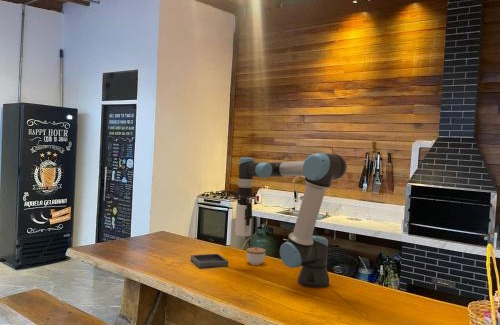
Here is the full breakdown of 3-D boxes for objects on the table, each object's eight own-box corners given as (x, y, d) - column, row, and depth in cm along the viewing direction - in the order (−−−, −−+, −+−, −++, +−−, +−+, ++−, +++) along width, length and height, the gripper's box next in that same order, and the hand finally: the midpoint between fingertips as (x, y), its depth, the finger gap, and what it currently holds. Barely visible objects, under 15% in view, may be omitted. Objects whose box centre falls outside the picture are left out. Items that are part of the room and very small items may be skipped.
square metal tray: (228, 266, 228) (228, 261, 228) (199, 268, 222) (199, 263, 222) (217, 258, 243) (218, 253, 243) (190, 260, 236) (190, 255, 236)
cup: (250, 236, 220) (252, 205, 219) (234, 235, 220) (236, 205, 220) (250, 233, 228) (252, 203, 228) (235, 232, 228) (236, 203, 228)
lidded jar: (257, 267, 230) (258, 250, 229) (241, 263, 236) (242, 246, 236) (268, 263, 238) (269, 247, 238) (253, 259, 245) (254, 243, 244)
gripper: (260, 188, 215) (258, 233, 216) (243, 184, 234) (241, 226, 235) (246, 188, 212) (244, 234, 213) (231, 184, 231) (229, 226, 232)
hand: (243, 229), depth 224 cm, fingers closed on cup, 8 cm apart
